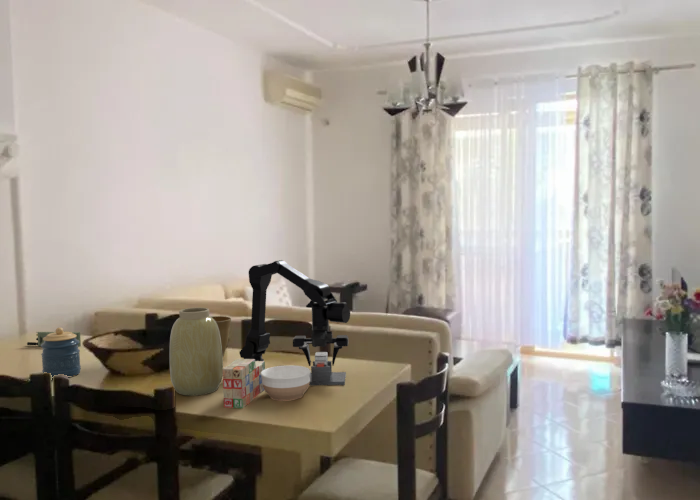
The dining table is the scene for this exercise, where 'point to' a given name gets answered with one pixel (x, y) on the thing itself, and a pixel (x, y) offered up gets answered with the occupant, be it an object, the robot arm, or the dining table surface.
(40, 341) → the handheld radio
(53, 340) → the canister
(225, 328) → the plant pot
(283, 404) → the dining table surface
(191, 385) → the vase
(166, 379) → the dining table surface
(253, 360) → the stack of blocks
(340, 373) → the grey stepped stand
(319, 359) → the column
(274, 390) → the bowl
